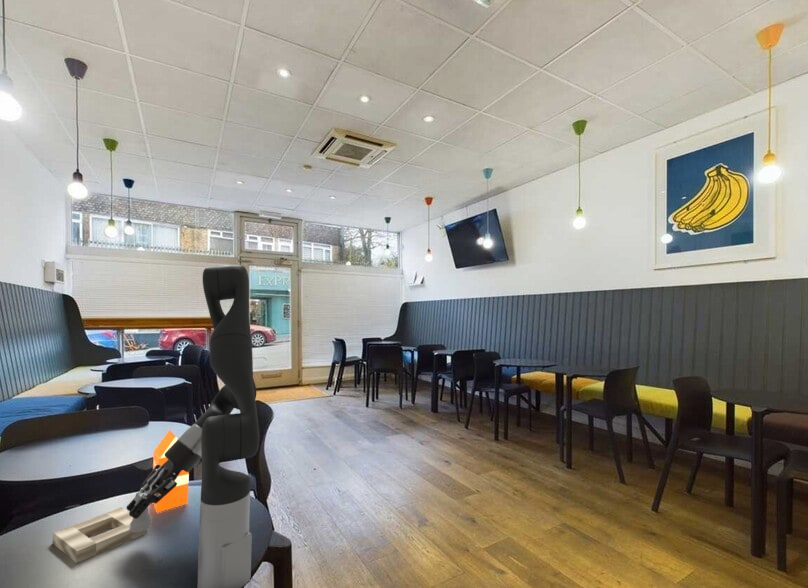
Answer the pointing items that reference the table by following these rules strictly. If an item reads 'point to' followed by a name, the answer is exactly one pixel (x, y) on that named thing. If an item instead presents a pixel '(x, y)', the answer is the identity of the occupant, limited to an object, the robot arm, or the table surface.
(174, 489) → the orange juice
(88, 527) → the wooden square ring
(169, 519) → the table surface
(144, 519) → the rook chess piece
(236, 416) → the robot arm
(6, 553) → the table surface
